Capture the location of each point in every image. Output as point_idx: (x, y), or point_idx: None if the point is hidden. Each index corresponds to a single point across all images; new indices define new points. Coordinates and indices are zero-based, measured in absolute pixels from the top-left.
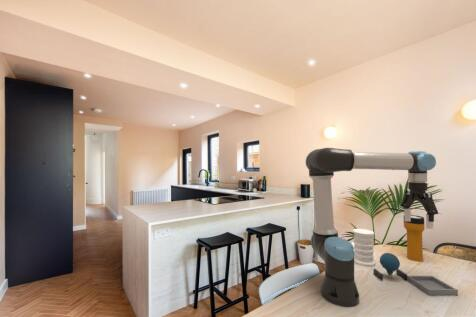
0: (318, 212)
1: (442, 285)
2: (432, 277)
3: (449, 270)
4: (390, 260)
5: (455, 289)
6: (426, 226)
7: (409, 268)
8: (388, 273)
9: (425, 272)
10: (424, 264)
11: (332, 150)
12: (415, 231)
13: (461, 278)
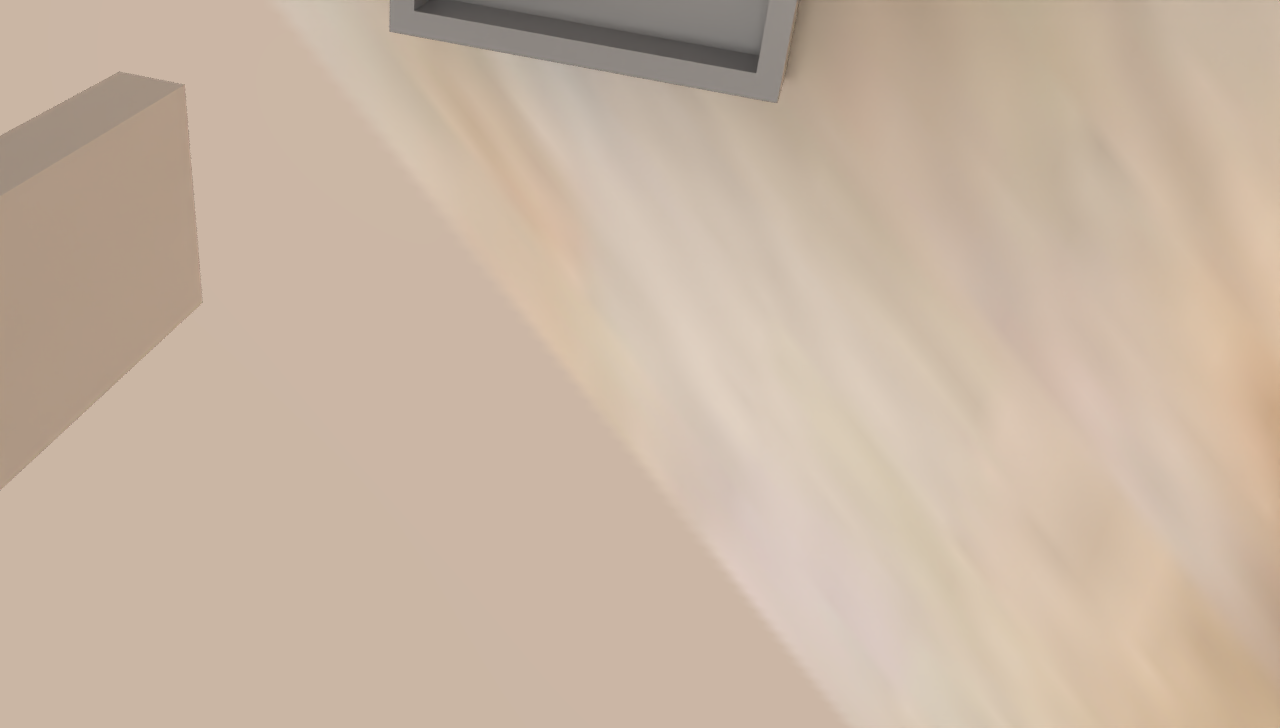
0: None
1: (595, 30)
2: (752, 69)
3: (968, 589)
4: None
5: (399, 12)
6: (118, 102)
7: (1212, 128)
8: None
9: (1018, 242)
10: (1224, 483)
11: None
12: None
13: (767, 500)
